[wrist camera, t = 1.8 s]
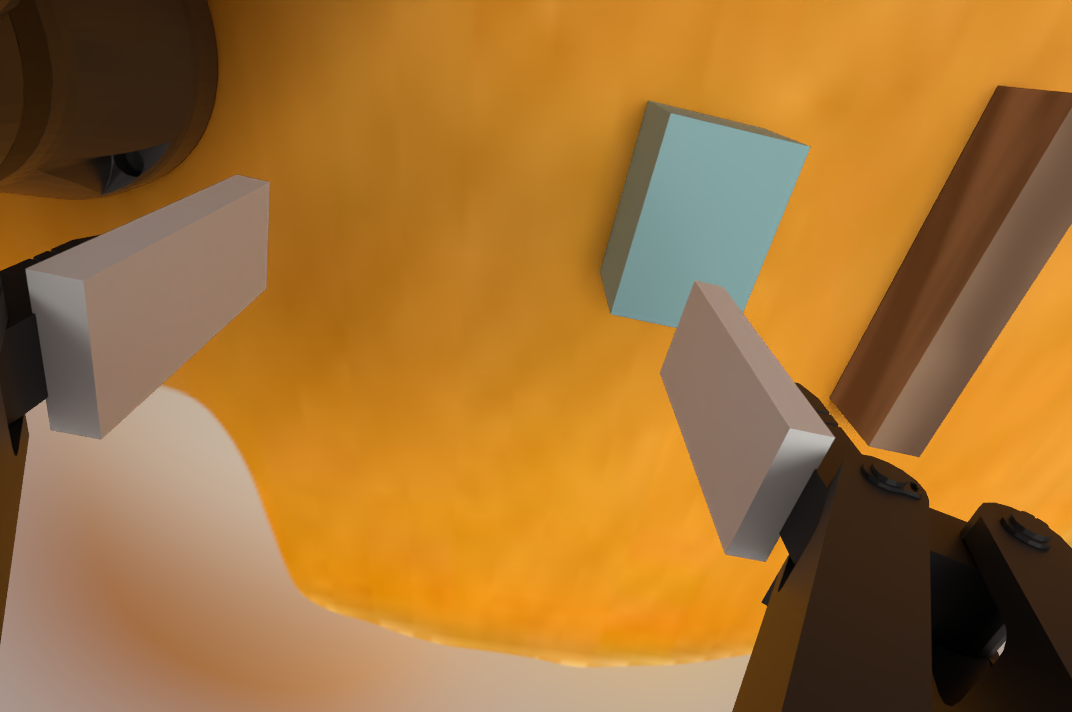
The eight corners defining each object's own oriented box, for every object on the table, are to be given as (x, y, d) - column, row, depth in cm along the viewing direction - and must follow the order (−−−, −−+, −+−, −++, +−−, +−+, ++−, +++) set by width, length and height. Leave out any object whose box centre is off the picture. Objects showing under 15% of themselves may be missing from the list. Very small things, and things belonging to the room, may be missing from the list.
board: (829, 398, 37) (868, 446, 33) (998, 85, 29) (1080, 93, 25) (874, 408, 38) (919, 457, 33) (1053, 101, 30) (1144, 112, 25)
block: (599, 271, 34) (610, 314, 29) (647, 100, 30) (670, 112, 25) (702, 293, 34) (732, 339, 29) (763, 128, 30) (810, 146, 25)
